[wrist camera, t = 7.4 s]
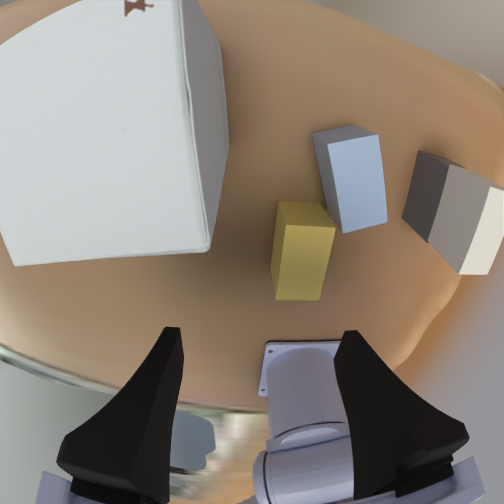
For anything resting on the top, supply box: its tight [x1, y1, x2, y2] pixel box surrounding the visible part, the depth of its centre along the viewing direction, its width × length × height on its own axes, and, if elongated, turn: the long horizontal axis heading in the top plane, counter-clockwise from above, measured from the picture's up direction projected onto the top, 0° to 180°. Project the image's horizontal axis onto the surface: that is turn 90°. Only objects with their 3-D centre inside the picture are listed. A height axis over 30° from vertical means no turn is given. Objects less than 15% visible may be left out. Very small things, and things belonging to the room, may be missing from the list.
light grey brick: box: [428, 164, 504, 275], centre depth 14 cm, size 6×3×4 cm, turn 176°
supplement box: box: [0, 0, 230, 266], centre depth 11 cm, size 7×7×13 cm
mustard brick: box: [271, 200, 336, 300], centre depth 20 cm, size 6×3×4 cm, turn 176°
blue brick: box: [311, 125, 387, 234], centre depth 17 cm, size 6×3×4 cm, turn 16°
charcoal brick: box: [402, 151, 466, 243], centre depth 18 cm, size 6×3×4 cm, turn 176°
